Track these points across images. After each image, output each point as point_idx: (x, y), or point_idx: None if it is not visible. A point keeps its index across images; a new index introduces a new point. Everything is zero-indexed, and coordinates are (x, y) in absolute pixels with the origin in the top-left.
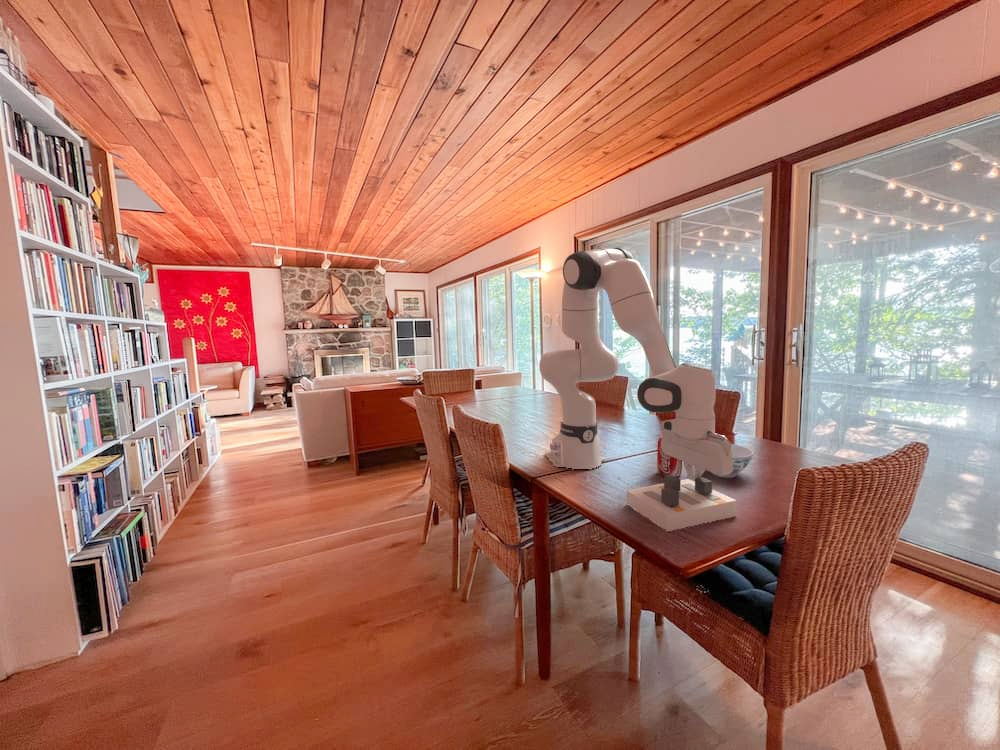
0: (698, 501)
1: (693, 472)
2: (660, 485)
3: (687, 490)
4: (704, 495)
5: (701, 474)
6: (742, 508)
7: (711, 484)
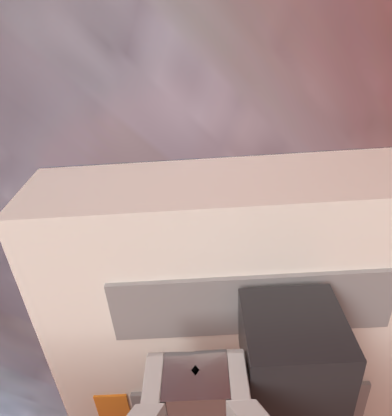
0: None
1: (165, 409)
2: (86, 413)
3: (199, 346)
4: None
5: (262, 412)
6: (372, 5)
7: (355, 345)
